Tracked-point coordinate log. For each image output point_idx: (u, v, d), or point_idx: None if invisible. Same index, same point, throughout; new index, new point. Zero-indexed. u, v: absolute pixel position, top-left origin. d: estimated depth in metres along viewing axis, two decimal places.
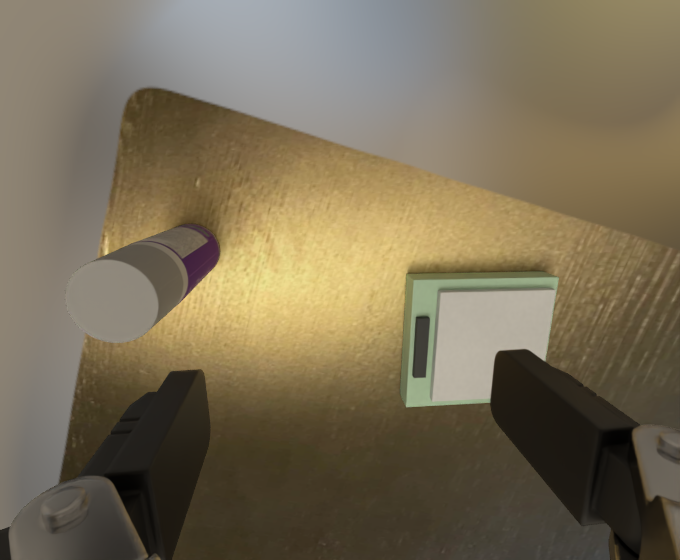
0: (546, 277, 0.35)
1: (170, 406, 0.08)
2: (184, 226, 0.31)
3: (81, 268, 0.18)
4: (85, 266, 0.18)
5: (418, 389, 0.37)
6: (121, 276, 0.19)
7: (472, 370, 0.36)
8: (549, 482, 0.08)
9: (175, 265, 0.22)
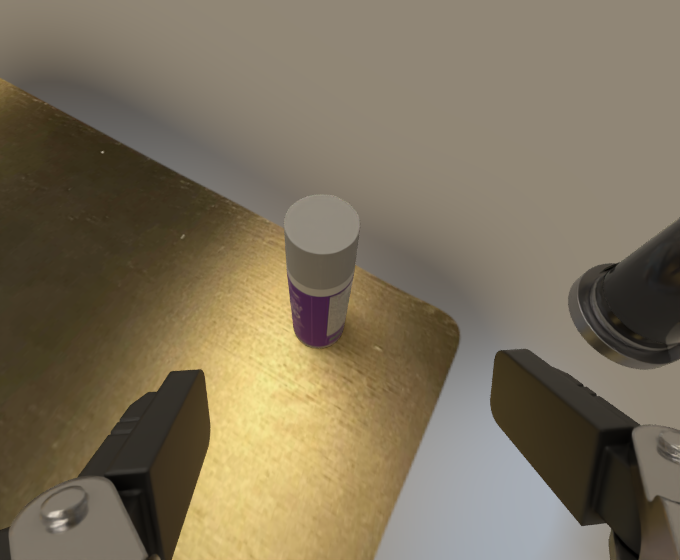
0: None
1: (170, 406, 0.08)
2: (344, 321, 0.33)
3: (356, 214, 0.22)
4: (357, 216, 0.22)
5: None
6: (342, 235, 0.21)
7: None
8: (549, 482, 0.08)
9: (328, 287, 0.24)
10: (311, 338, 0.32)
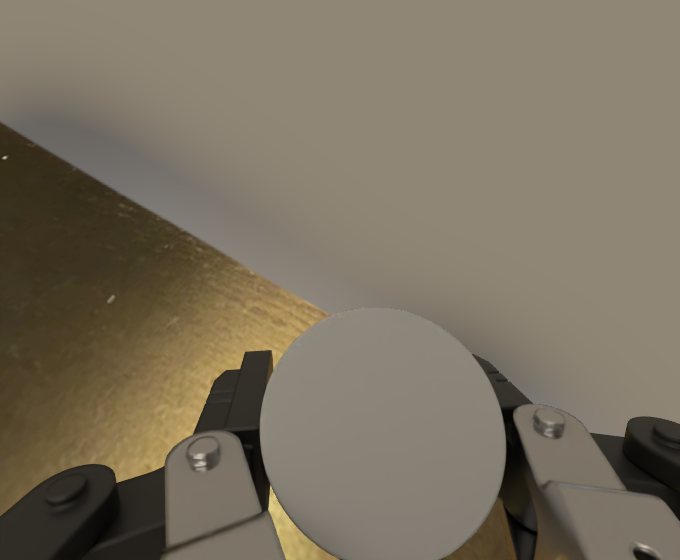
0: None
1: (257, 379, 0.09)
2: None
3: (485, 379, 0.07)
4: (490, 390, 0.07)
5: None
6: (455, 474, 0.06)
7: None
8: None
9: None
10: None
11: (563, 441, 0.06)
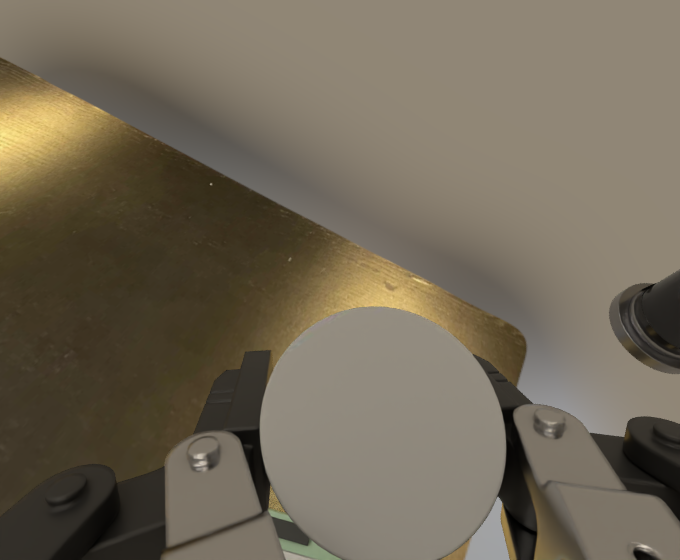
0: None
1: (257, 379, 0.09)
2: None
3: (485, 378, 0.07)
4: (490, 389, 0.07)
5: None
6: (455, 474, 0.06)
7: None
8: None
9: None
10: None
11: (563, 441, 0.06)
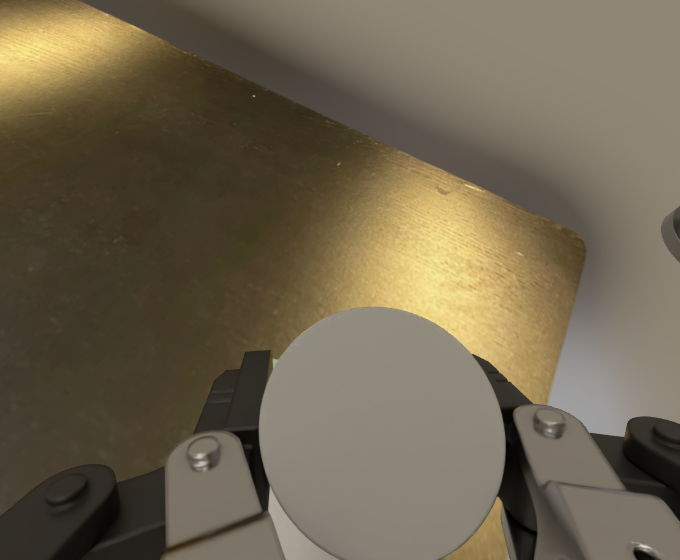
0: None
1: (257, 379, 0.09)
2: None
3: (484, 378, 0.07)
4: (489, 390, 0.07)
5: None
6: (455, 474, 0.06)
7: None
8: None
9: None
10: None
11: (563, 441, 0.06)
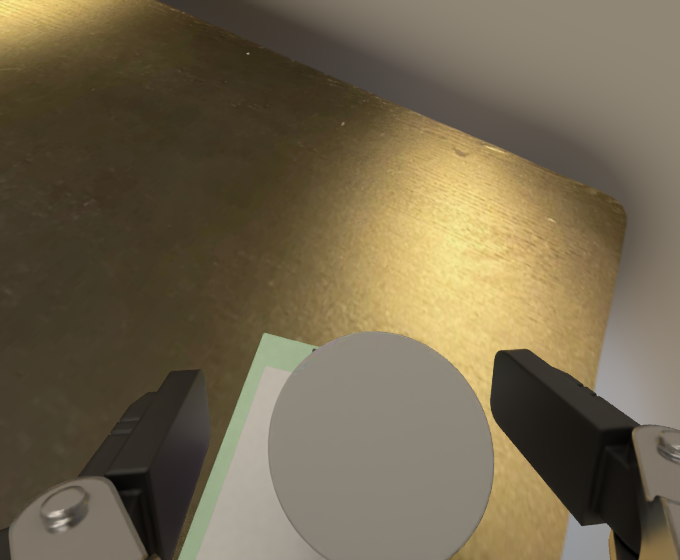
0: None
1: (170, 406, 0.08)
2: None
3: (475, 399, 0.08)
4: (480, 410, 0.08)
5: (286, 355, 0.24)
6: (447, 489, 0.07)
7: None
8: (549, 482, 0.08)
9: None
10: None
11: None
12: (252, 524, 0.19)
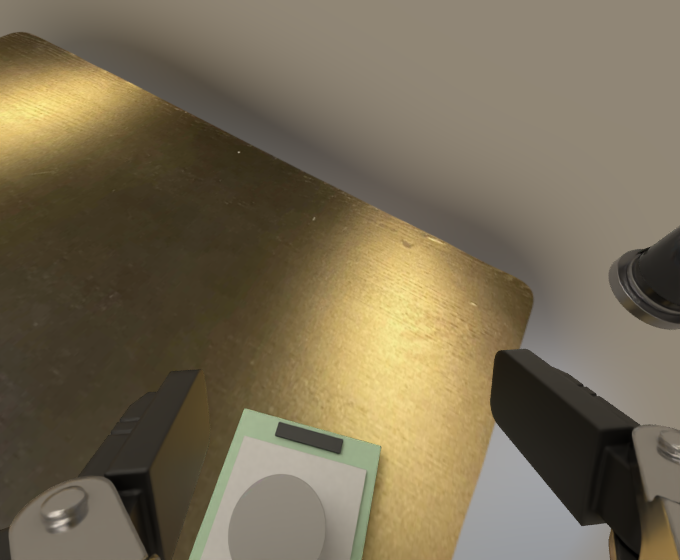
0: None
1: (170, 406, 0.08)
2: None
3: (322, 509, 0.18)
4: (323, 515, 0.18)
5: (260, 426, 0.34)
6: (302, 552, 0.17)
7: None
8: (548, 482, 0.08)
9: None
10: None
11: None
12: None
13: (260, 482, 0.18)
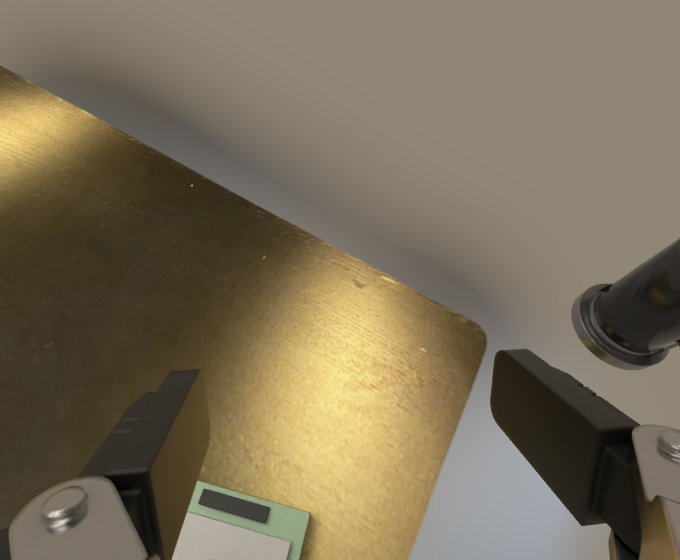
0: None
1: (170, 406, 0.08)
2: None
3: None
4: None
5: None
6: None
7: None
8: (549, 482, 0.08)
9: None
10: None
11: None
12: None
13: None
